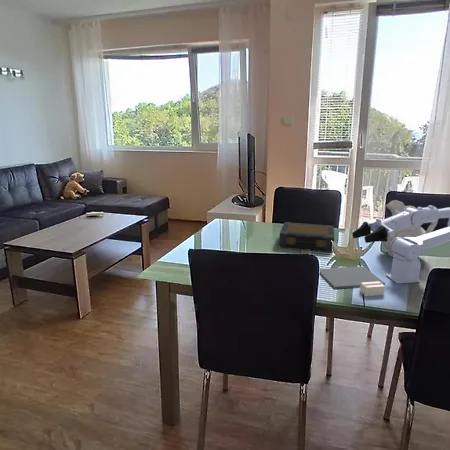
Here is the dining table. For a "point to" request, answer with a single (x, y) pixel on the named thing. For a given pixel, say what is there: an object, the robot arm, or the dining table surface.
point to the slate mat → (348, 276)
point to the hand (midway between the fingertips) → (359, 237)
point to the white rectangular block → (372, 288)
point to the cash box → (306, 236)
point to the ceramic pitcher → (408, 231)
